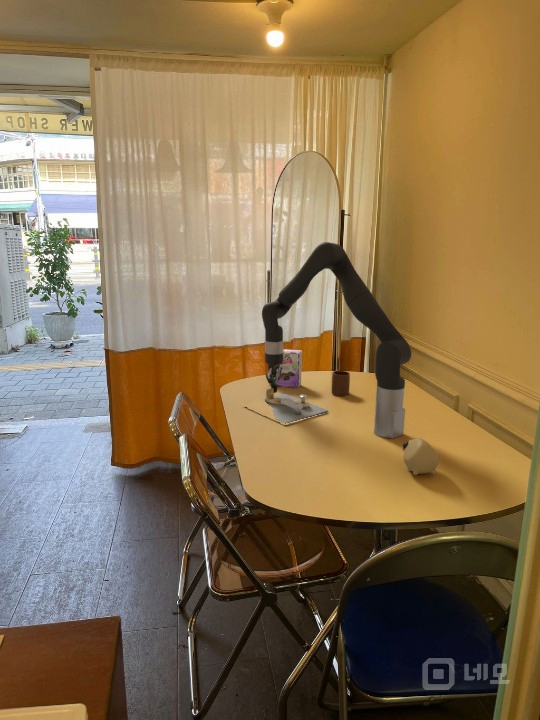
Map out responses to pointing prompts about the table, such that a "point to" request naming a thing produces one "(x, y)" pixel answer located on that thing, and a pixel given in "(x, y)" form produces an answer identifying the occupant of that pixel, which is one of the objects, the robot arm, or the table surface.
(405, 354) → the robot arm
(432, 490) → the table surface
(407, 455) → the cream rounded piece
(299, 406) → the keeper
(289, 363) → the candy box
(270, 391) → the link
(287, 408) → the base plate
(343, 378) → the mug
